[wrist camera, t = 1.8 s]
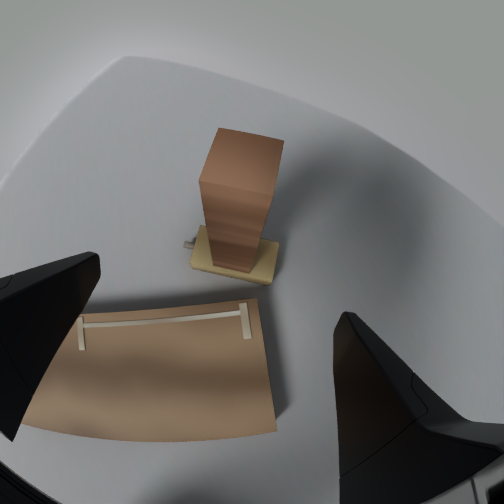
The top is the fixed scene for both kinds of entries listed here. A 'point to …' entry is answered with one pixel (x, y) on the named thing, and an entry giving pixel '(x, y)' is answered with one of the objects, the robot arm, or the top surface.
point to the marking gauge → (237, 207)
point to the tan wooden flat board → (159, 376)
